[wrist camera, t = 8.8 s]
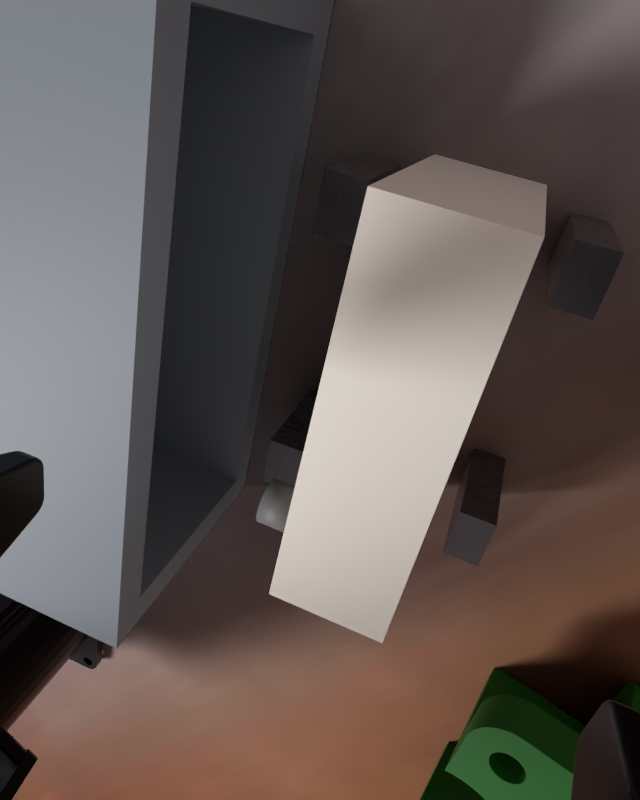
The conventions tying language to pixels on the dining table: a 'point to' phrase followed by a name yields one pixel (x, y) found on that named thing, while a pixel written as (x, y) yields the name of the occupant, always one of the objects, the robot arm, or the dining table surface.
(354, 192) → the clip brackets
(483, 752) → the clamp
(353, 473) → the white block
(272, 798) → the dining table surface
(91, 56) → the cabinet
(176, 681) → the dining table surface
